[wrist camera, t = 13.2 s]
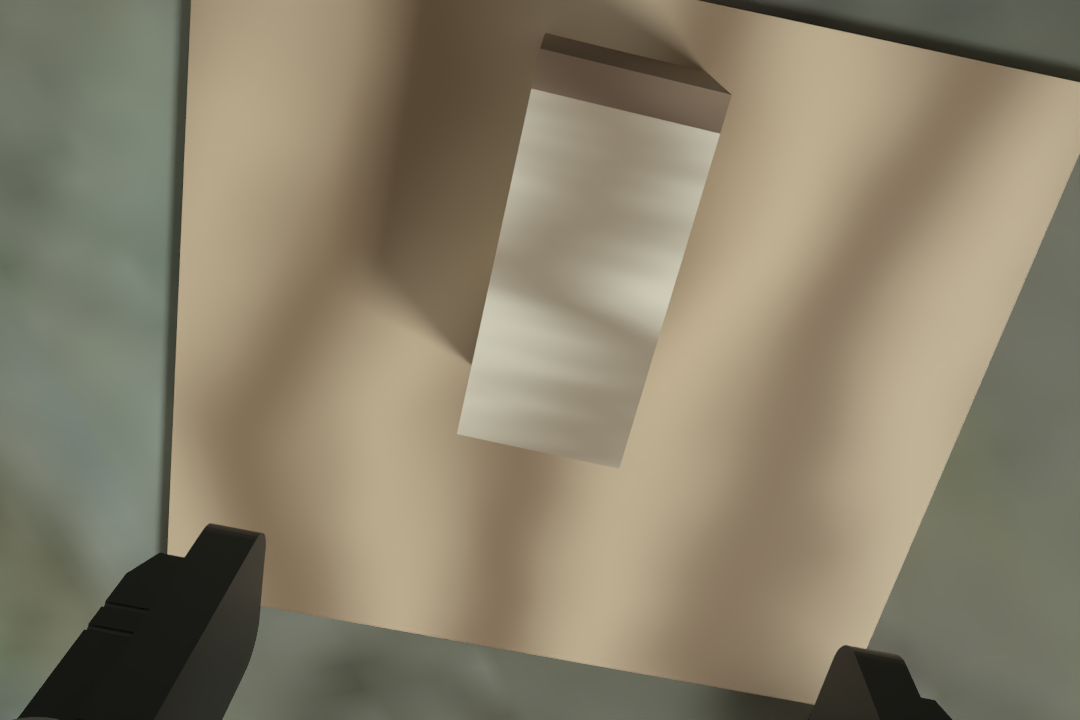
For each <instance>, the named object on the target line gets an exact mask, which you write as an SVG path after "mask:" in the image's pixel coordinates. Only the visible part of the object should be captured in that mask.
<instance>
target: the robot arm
mask: <svg viewBox="0 0 1080 720" xmlns="http://www.w3.org/2000/svg"><path fill="white" fill-rule="evenodd" d="M265 551H266V537H265V534H264V533H260V532H255V531H249V530H244V529H239V528H234V527H228V526H223V525H218V524H212V523H210V524H208V525H207V526H206V527H205V528H204V529H203V531H202V532H201V534H200V535H199V537H198V538H197V540H196V541H195V543H194V544H193V545H192V547H191V548H190V550H189V551H188V553H187V554H186V556H185V557H179V556H174V555H169V554H163V553H159V554H157V555H155V556H154V557H152V558H150V559H149V560H147V561H146V562H144V563H142V564H141V565H139V566H138V567H136V568H134V569H133V570H131V571H130V572H128V573H126V575H125V576H124V577H123V579H122V580H121V581H120V583H119V584H118V585H117V587H116V588H115V589H114V591H113V592H112V593H111V595H110V596H109V597H108V599H107V600H106V602H105V606H104V607H101V608H100V609H99V611H98V612H97V613H96V615H95V616H94V617H93V619H92V620H91V621H90V623H89V625H88V628H87V630H84V631H83V632H82V633H81V635H80V636H79V637H78V639H77V640H76V641H75V643H74V644H73V645H72V647H71V648H70V649H69V651H68V652H67V653H66V655H65V656H64V657H63V659H62V660H61V661H60V663H59V664H58V665H57V667H56V668H55V669H54V671H53V672H52V673H51V675H50V676H49V677H48V679H47V680H46V681H45V683H44V684H43V685H42V687H41V688H40V689H39V691H38V692H37V693H36V695H35V696H34V697H33V699H32V700H31V701H30V703H29V704H28V705H27V707H26V708H25V709H24V711H23V712H22V713H21V715H20V716H19V717H18V718H17V719H14V720H222V719H223V717H224V715H225V712H226V710H227V708H228V706H229V704H230V702H231V700H232V698H233V696H234V694H235V692H236V690H237V687H238V685H239V683H240V681H241V679H242V677H243V675H244V673H245V671H246V668H247V666H248V663H249V661H250V658H251V655H252V652H253V648H254V645H255V641H256V636H257V631H258V625H259V617H260V606H261V595H262V584H263V573H264V562H265ZM808 720H952V719H951V718H950V717H949V716H948V714H947V713H946V712H945V711H944V710H943V709H942V708H941V707H940V706H939V705H938V703H937V702H936V701H935V700H931V699H925V698H921V697H920V695H919V693H918V690H917V688H916V686H915V684H914V681H913V679H912V677H911V675H910V673H909V670H908V668H907V666H906V664H905V662H904V660H903V659H902V658H901V657H900V656H899V655H895V654H890V653H885V652H880V651H874V650H869V649H864V648H859V647H853V646H848V645H844V646H842V647H840V648H839V649H838V651H837V652H836V654H835V656H834V658H833V661H832V663H831V666H830V668H829V670H828V673H827V675H826V678H825V680H824V683H823V685H822V688H821V690H820V692H819V695H818V697H817V700H816V702H815V705H814V707H813V710H812V712H811V714H810V717H809V719H808Z"/></svg>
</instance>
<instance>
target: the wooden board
mask: <svg viewBox="0 0 1080 720" xmlns="http://www.w3.org/2000/svg"><path fill="white" fill-rule="evenodd" d="M545 33H548V34H552V35H556V36H560V37H565V38H569V39H573V40H577V41H581V42H585V43H589V44H593V45H598V46H602V47H606V48H610V49H614V50H618V51H622V52H626V53H631V54H635V55H639V56H643V57H647V58H651V59H655V60H659V61H664V62H668V63H672V64H676V65H680V66H684V67H688V68H692V69H697V70H701V71H705V72H707V73H708V74H709V75H710V76H711V77H713V78H714V79H715V80H716V81H717V82H718V83H719V84H720V85H722V86H723V87H724V88H725V89H726V90H727V91H728V92H729V93H730V94H732V96H731V100H730V103H729V106H728V109H727V113H726V116H725V119H724V123H723V126H722V129H721V133H720V136H719V139H718V143H717V146H716V149H715V153H714V156H713V159H712V163H711V166H710V169H709V173H708V176H707V179H706V182H705V186H704V189H703V192H702V196H701V199H700V202H699V206H698V209H697V212H696V216H695V219H694V222H693V226H692V229H691V232H690V236H689V239H688V242H687V246H686V249H685V252H684V255H683V259H682V262H681V265H680V269H679V272H678V275H677V279H676V282H675V285H674V289H673V292H672V295H671V299H670V302H669V305H668V309H667V312H666V315H665V319H664V322H663V325H662V328H661V332H660V335H659V338H658V342H657V345H656V348H655V352H654V355H653V358H652V362H651V365H650V368H649V372H648V375H647V378H646V382H645V385H644V388H643V392H642V395H641V398H640V401H639V405H638V408H637V411H636V415H635V418H634V421H633V425H632V428H631V431H630V435H629V438H628V441H627V445H626V448H625V451H624V455H623V458H622V461H621V465H620V468H619V469H617V468H612V467H608V466H603V465H598V464H594V463H589V462H585V461H580V460H575V459H571V458H566V457H561V456H557V455H552V454H547V453H543V452H538V451H533V450H529V449H524V448H519V447H515V446H510V445H505V444H501V443H496V442H491V441H487V440H482V439H477V438H473V437H468V436H463V435H459V434H457V431H458V426H459V422H460V417H461V412H462V408H463V403H464V398H465V394H466V389H467V385H468V380H469V375H470V371H471V366H472V361H473V357H474V352H475V347H476V343H477V338H478V334H479V329H480V324H481V320H482V315H483V310H484V306H485V301H486V297H487V292H488V287H489V283H490V278H491V273H492V269H493V264H494V260H495V255H496V250H497V246H498V241H499V236H500V232H501V227H502V222H503V218H504V213H505V209H506V204H507V199H508V195H509V190H510V185H511V181H512V176H513V172H514V167H515V162H516V158H517V153H518V148H519V144H520V139H521V134H522V130H523V125H524V121H525V116H526V111H527V107H528V102H529V97H530V93H531V88H532V84H533V79H534V74H535V70H536V65H537V60H538V56H539V51H540V47H541V44H542V41H543V39H544V36H545ZM1079 153H1080V82H1077V81H1072V80H1068V79H1063V78H1058V77H1054V76H1049V75H1044V74H1040V73H1035V72H1030V71H1026V70H1021V69H1016V68H1012V67H1007V66H1002V65H998V64H993V63H989V62H984V61H979V60H975V59H970V58H965V57H961V56H956V55H951V54H947V53H942V52H937V51H933V50H928V49H923V48H919V47H914V46H910V45H905V44H900V43H896V42H891V41H886V40H882V39H877V38H872V37H868V36H863V35H858V34H854V33H849V32H844V31H840V30H835V29H831V28H826V27H821V26H817V25H812V24H807V23H803V22H798V21H793V20H789V19H784V18H779V17H775V16H770V15H765V14H761V13H756V12H752V11H747V10H742V9H738V8H733V7H728V6H724V5H719V4H714V3H710V2H705V1H700V0H191V15H190V38H189V61H188V84H187V108H186V131H185V154H184V177H183V201H182V224H181V247H180V270H179V294H178V317H177V340H176V363H175V387H174V410H173V433H172V456H171V480H170V503H169V526H168V550H167V554H169V555H174V556H179V557H185V556H186V554H187V553H188V551H189V550H190V548H191V547H192V545H193V544H194V543H195V541H196V540H197V538H198V537H199V535H200V534H201V532H202V531H203V529H204V528H205V527H206V526H207V525H208V524H210V523H212V524H218V525H223V526H228V527H234V528H239V529H244V530H249V531H255V532H260V533H264V534H265V537H266V551H265V562H264V573H263V584H262V595H261V606H265V607H271V608H276V609H282V610H287V611H293V612H299V613H304V614H310V615H315V616H321V617H326V618H332V619H338V620H343V621H349V622H354V623H360V624H366V625H371V626H377V627H382V628H388V629H394V630H399V631H405V632H410V633H416V634H422V635H427V636H433V637H438V638H444V639H450V640H455V641H461V642H466V643H472V644H478V645H483V646H489V647H494V648H500V649H506V650H511V651H517V652H522V653H528V654H534V655H539V656H545V657H550V658H556V659H562V660H567V661H573V662H578V663H584V664H590V665H595V666H601V667H606V668H612V669H618V670H623V671H629V672H634V673H640V674H646V675H651V676H657V677H662V678H668V679H674V680H679V681H685V682H690V683H696V684H702V685H707V686H713V687H718V688H724V689H730V690H735V691H741V692H746V693H752V694H758V695H763V696H769V697H774V698H780V699H785V700H791V701H797V702H802V703H808V704H813V705H815V702H816V700H817V697H818V695H819V692H820V690H821V688H822V685H823V683H824V680H825V678H826V675H827V673H828V670H829V668H830V666H831V663H832V661H833V658H834V656H835V654H836V652H837V651H838V649H839V648H840V647H842V646H844V645H848V646H853V647H859V648H864V649H866V648H867V646H868V644H869V641H870V639H871V637H872V634H873V632H874V630H875V627H876V625H877V623H878V620H879V618H880V616H881V613H882V611H883V609H884V606H885V604H886V602H887V599H888V597H889V595H890V592H891V590H892V588H893V586H894V583H895V581H896V579H897V576H898V574H899V572H900V569H901V567H902V565H903V562H904V560H905V558H906V555H907V553H908V551H909V548H910V546H911V544H912V541H913V539H914V537H915V534H916V532H917V530H918V527H919V525H920V523H921V520H922V518H923V516H924V514H925V511H926V509H927V507H928V504H929V502H930V500H931V497H932V495H933V493H934V490H935V488H936V486H937V483H938V481H939V479H940V476H941V474H942V472H943V469H944V467H945V465H946V462H947V460H948V458H949V455H950V453H951V451H952V448H953V446H954V444H955V441H956V439H957V437H958V435H959V432H960V430H961V428H962V425H963V423H964V421H965V418H966V416H967V414H968V411H969V409H970V407H971V404H972V402H973V400H974V397H975V395H976V393H977V390H978V388H979V386H980V383H981V381H982V379H983V376H984V374H985V372H986V369H987V367H988V365H989V363H990V360H991V358H992V356H993V353H994V351H995V349H996V346H997V344H998V342H999V339H1000V337H1001V335H1002V332H1003V330H1004V328H1005V325H1006V323H1007V321H1008V318H1009V316H1010V314H1011V311H1012V309H1013V307H1014V304H1015V302H1016V300H1017V297H1018V295H1019V293H1020V291H1021V288H1022V286H1023V284H1024V281H1025V279H1026V277H1027V274H1028V272H1029V270H1030V267H1031V265H1032V263H1033V260H1034V258H1035V256H1036V253H1037V251H1038V249H1039V246H1040V244H1041V242H1042V239H1043V237H1044V235H1045V232H1046V230H1047V228H1048V225H1049V223H1050V221H1051V218H1052V216H1053V214H1054V212H1055V209H1056V207H1057V205H1058V202H1059V200H1060V198H1061V195H1062V193H1063V191H1064V188H1065V186H1066V184H1067V181H1068V179H1069V177H1070V174H1071V172H1072V170H1073V167H1074V165H1075V163H1076V160H1077V158H1078V156H1079Z"/></svg>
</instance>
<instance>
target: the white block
mask: <svg viewBox="0 0 1080 720" xmlns="http://www.w3.org/2000/svg"><path fill="white" fill-rule="evenodd" d="M731 96H732V94H730V93H729V92H728V91H727V90H726V89H725V88H724V87H723V86H722V85H720V84H719V83H718V82H717V81H716V80H715V79H714V78H713V77H711V76H710V75H709V74H708V73H707V72H705V71H701V70H697V69H692V68H688V67H684V66H680V65H676V64H672V63H668V62H664V61H659V60H655V59H651V58H647V57H643V56H639V55H635V54H631V53H626V52H622V51H618V50H614V49H610V48H606V47H602V46H598V45H593V44H589V43H585V42H581V41H577V40H573V39H569V38H565V37H560V36H556V35H552V34H548V33H545V36H544V39H543V41H542V44H541V47H540V51H539V56H538V60H537V65H536V70H535V74H534V79H533V84H532V88H531V93H530V97H529V102H528V107H527V111H526V116H525V121H524V125H523V130H522V134H521V139H520V144H519V148H518V153H517V158H516V162H515V167H514V172H513V176H512V181H511V185H510V190H509V195H508V199H507V204H506V209H505V213H504V218H503V222H502V227H501V232H500V236H499V241H498V246H497V250H496V255H495V260H494V264H493V269H492V273H491V278H490V283H489V287H488V292H487V297H486V301H485V306H484V310H483V315H482V320H481V324H480V329H479V334H478V338H477V343H476V347H475V352H474V357H473V361H472V366H471V371H470V375H469V380H468V385H467V389H466V394H465V398H464V403H463V408H462V412H461V417H460V422H459V426H458V431H457V434H459V435H463V436H468V437H473V438H477V439H482V440H487V441H491V442H496V443H501V444H505V445H510V446H515V447H519V448H524V449H529V450H533V451H538V452H543V453H547V454H552V455H557V456H561V457H566V458H571V459H575V460H580V461H585V462H589V463H594V464H598V465H603V466H608V467H612V468H617V469H619V468H620V465H621V461H622V458H623V455H624V451H625V448H626V445H627V441H628V438H629V435H630V431H631V428H632V425H633V421H634V418H635V415H636V411H637V408H638V405H639V401H640V398H641V395H642V392H643V388H644V385H645V382H646V378H647V375H648V372H649V368H650V365H651V362H652V358H653V355H654V352H655V348H656V345H657V342H658V338H659V335H660V332H661V328H662V325H663V322H664V319H665V315H666V312H667V309H668V305H669V302H670V299H671V295H672V292H673V289H674V285H675V282H676V279H677V275H678V272H679V269H680V265H681V262H682V259H683V255H684V252H685V249H686V246H687V242H688V239H689V236H690V232H691V229H692V226H693V222H694V219H695V216H696V212H697V209H698V206H699V202H700V199H701V196H702V192H703V189H704V186H705V182H706V179H707V176H708V173H709V169H710V166H711V163H712V159H713V156H714V153H715V149H716V146H717V143H718V139H719V136H720V133H721V129H722V126H723V123H724V119H725V116H726V113H727V109H728V106H729V103H730V100H731Z"/></svg>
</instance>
